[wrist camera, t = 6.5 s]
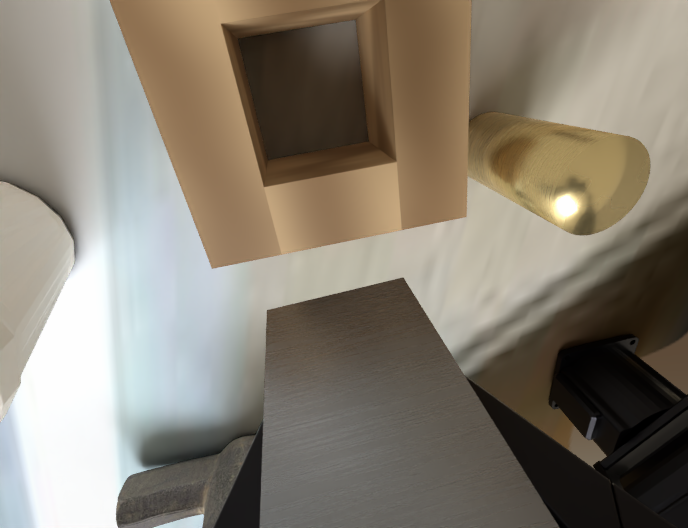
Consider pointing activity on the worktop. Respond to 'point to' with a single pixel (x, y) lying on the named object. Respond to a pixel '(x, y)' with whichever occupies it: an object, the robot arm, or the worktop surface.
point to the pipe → (181, 489)
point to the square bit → (380, 424)
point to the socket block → (319, 166)
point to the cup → (27, 278)
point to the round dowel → (558, 169)
